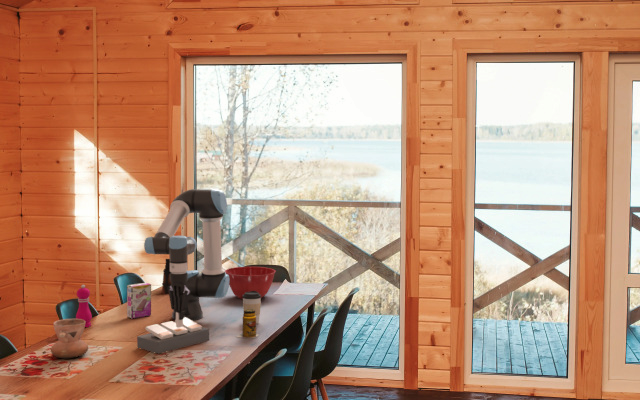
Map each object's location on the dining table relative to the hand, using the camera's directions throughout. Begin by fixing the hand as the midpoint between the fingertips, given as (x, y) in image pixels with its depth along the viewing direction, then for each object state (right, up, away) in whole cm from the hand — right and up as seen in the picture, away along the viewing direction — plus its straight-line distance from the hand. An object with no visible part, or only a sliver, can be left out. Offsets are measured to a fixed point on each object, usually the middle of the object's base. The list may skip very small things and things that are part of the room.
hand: (179, 326), depth 312 cm
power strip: (-2, -8, +4) cm, 9 cm away
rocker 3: (+2, -1, +8) cm, 9 cm away
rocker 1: (-8, -2, -4) cm, 9 cm away
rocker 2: (-3, -2, +2) cm, 4 cm away
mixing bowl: (+21, -1, +100) cm, 102 cm away
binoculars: (-27, 0, +118) cm, 122 cm away
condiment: (+28, -7, +16) cm, 33 cm away
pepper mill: (-52, -6, +33) cm, 61 cm away
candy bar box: (-30, -4, +53) cm, 61 cm away
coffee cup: (+27, -5, +41) cm, 50 cm away
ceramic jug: (-42, -9, -15) cm, 45 cm away
